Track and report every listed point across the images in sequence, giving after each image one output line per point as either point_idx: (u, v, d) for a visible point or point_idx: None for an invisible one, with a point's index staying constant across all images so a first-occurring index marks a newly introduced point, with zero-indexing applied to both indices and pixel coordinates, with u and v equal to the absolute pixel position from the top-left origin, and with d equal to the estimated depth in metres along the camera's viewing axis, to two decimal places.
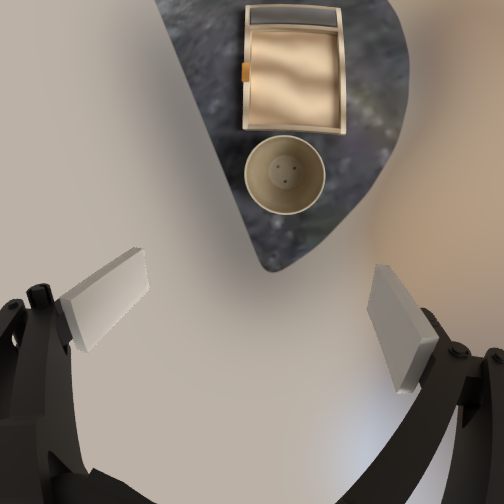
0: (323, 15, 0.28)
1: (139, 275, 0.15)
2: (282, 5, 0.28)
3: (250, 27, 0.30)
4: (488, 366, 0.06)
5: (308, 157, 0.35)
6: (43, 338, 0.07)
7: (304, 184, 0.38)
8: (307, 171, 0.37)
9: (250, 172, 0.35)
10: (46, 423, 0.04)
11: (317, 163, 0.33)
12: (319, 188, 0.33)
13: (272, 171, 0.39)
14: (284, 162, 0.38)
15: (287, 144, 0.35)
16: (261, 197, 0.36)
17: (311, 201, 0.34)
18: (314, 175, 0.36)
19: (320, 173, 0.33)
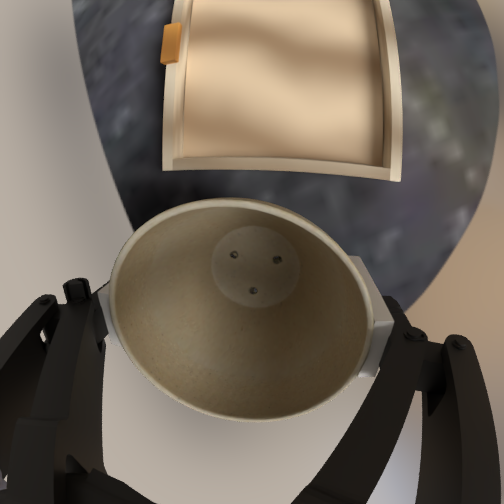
0: None
1: None
2: None
3: None
4: (448, 354, 0.07)
5: (318, 249, 0.12)
6: (76, 335, 0.07)
7: (301, 306, 0.15)
8: (311, 276, 0.14)
9: (138, 304, 0.11)
10: (69, 425, 0.04)
11: (348, 286, 0.10)
12: (343, 367, 0.10)
13: (219, 265, 0.16)
14: (250, 244, 0.15)
15: (251, 209, 0.11)
16: (181, 360, 0.13)
17: (314, 396, 0.10)
18: (330, 301, 0.12)
19: (353, 320, 0.10)
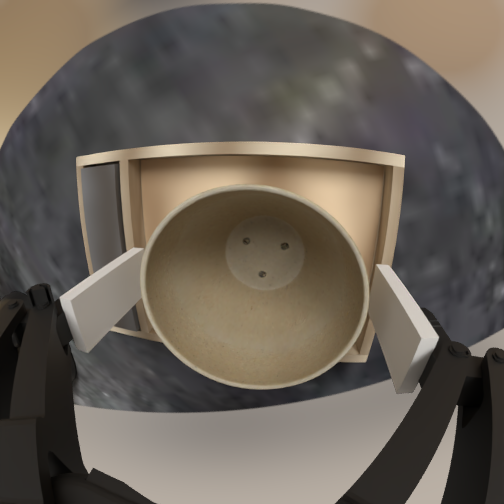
0: (95, 193, 0.16)
1: (139, 275, 0.15)
2: (92, 271, 0.19)
3: (146, 330, 0.20)
4: (488, 366, 0.06)
5: (322, 234, 0.14)
6: (43, 338, 0.07)
7: (305, 288, 0.17)
8: (315, 260, 0.16)
9: (163, 279, 0.13)
10: (46, 423, 0.04)
11: (348, 263, 0.12)
12: (344, 334, 0.12)
13: (233, 250, 0.18)
14: (261, 232, 0.17)
15: (266, 198, 0.13)
16: (198, 333, 0.15)
17: (318, 363, 0.12)
18: (332, 280, 0.14)
19: (352, 293, 0.12)
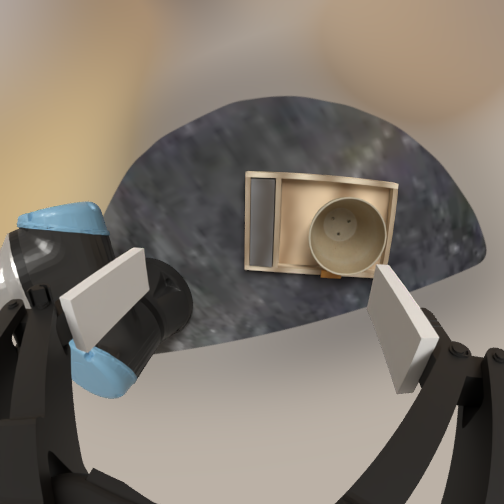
0: (260, 192, 0.37)
1: (139, 275, 0.15)
2: (247, 234, 0.40)
3: (276, 266, 0.41)
4: (488, 366, 0.06)
5: (367, 215, 0.34)
6: (43, 338, 0.07)
7: (358, 238, 0.37)
8: (362, 226, 0.37)
9: (311, 230, 0.34)
10: (46, 423, 0.04)
11: (378, 224, 0.33)
12: (378, 250, 0.33)
13: (326, 222, 0.38)
14: (339, 214, 0.38)
15: (348, 201, 0.34)
16: (320, 255, 0.35)
17: (369, 263, 0.33)
18: (370, 233, 0.35)
19: (380, 235, 0.33)
